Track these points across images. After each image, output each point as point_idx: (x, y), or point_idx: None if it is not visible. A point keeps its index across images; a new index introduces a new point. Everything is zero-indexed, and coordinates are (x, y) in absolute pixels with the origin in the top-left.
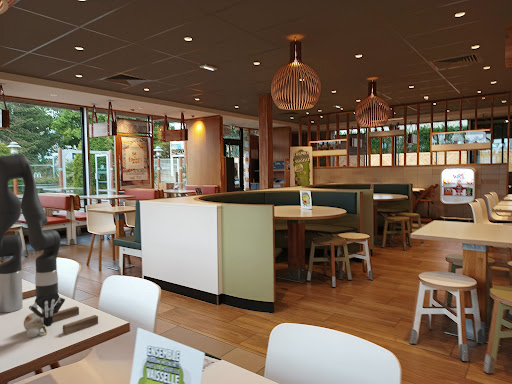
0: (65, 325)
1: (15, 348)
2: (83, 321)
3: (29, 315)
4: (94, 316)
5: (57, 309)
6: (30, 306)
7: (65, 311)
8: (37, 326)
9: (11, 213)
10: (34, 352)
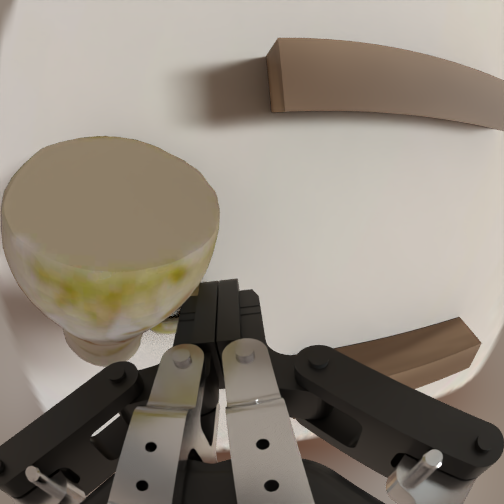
0: None
1: (49, 357)
2: None
3: (16, 274)
4: (465, 361)
5: (335, 428)
6: (2, 489)
7: (465, 122)
8: (124, 348)
9: None
10: None
